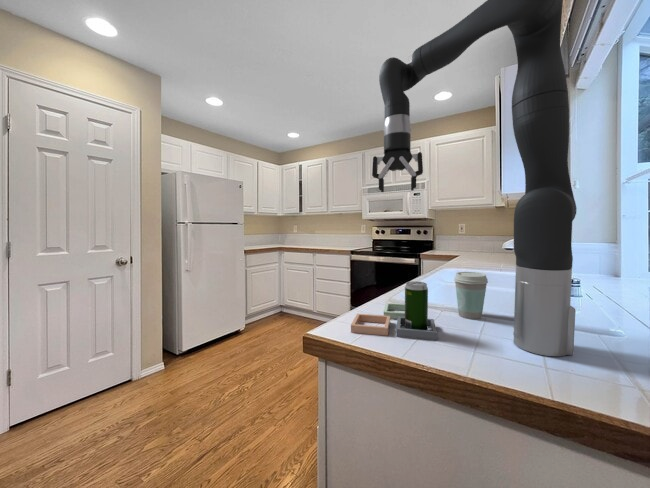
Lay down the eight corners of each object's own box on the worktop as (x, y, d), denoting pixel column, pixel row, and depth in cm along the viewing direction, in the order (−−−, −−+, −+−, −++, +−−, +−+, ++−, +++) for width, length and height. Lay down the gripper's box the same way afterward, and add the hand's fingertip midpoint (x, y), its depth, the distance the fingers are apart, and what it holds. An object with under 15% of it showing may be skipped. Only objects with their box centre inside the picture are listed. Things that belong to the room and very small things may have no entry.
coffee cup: (456, 309, 86) (457, 270, 85) (488, 314, 81) (489, 272, 80) (450, 317, 79) (451, 275, 78) (485, 323, 74) (486, 278, 73)
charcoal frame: (433, 325, 73) (433, 319, 72) (436, 340, 64) (436, 332, 64) (397, 323, 75) (397, 316, 75) (396, 336, 67) (396, 329, 66)
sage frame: (416, 310, 85) (416, 304, 85) (417, 320, 77) (417, 314, 76) (386, 308, 88) (386, 302, 88) (383, 318, 79) (383, 311, 79)
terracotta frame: (390, 322, 76) (390, 316, 76) (387, 335, 67) (387, 328, 67) (357, 319, 78) (357, 313, 78) (350, 332, 70) (350, 325, 70)
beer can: (417, 337, 66) (418, 287, 65) (400, 330, 70) (400, 283, 69) (432, 331, 69) (432, 283, 68) (414, 325, 73) (414, 280, 72)
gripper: (422, 135, 83) (422, 191, 84) (373, 140, 87) (374, 193, 88) (423, 127, 76) (423, 188, 77) (370, 133, 80) (371, 191, 81)
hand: (397, 191), depth 82 cm, fingers open, 8 cm apart
